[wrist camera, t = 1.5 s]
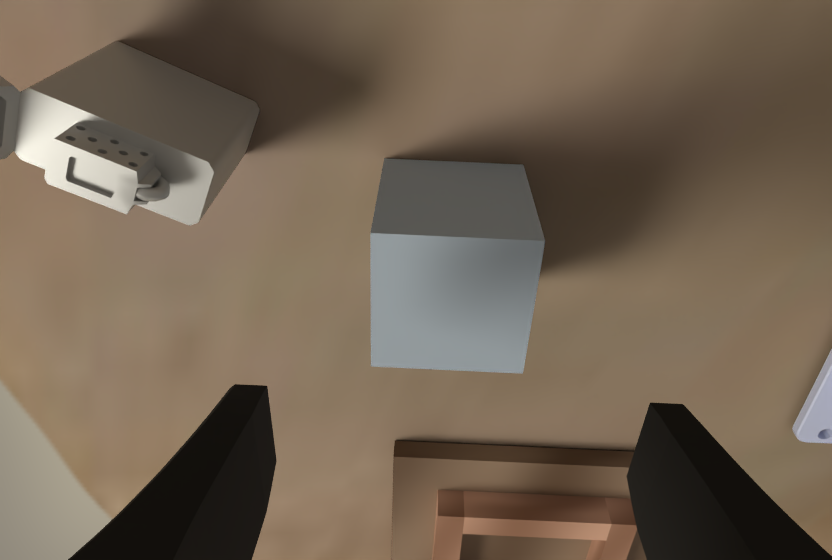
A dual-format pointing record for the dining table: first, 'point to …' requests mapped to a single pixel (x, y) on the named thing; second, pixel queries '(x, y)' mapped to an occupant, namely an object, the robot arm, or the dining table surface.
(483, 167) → the block
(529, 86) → the dining table surface
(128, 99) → the lighter
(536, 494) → the base plate
